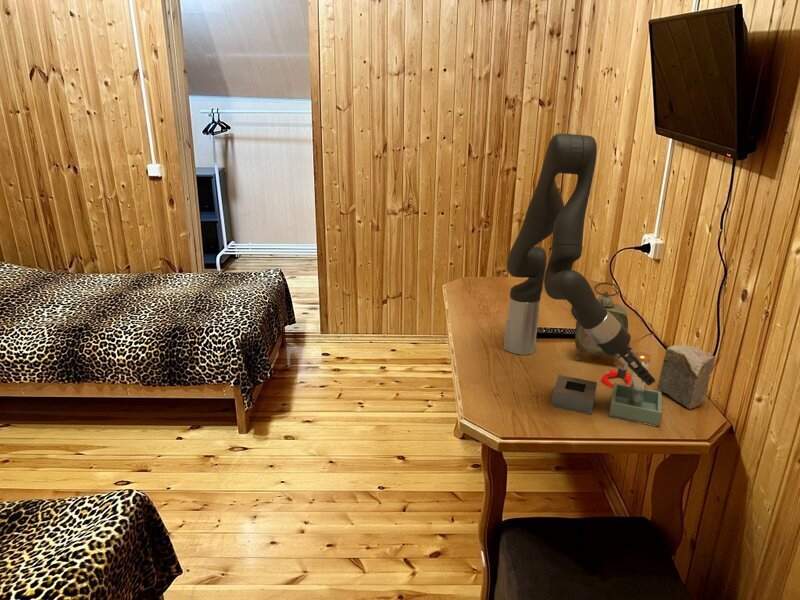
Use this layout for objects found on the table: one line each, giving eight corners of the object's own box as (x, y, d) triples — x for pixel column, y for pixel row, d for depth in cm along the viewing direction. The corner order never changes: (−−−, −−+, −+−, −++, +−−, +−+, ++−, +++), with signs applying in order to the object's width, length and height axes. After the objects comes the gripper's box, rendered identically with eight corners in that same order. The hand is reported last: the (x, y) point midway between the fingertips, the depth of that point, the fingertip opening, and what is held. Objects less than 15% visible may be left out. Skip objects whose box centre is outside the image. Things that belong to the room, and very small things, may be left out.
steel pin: (626, 410, 146) (634, 356, 142) (627, 404, 149) (635, 351, 145) (641, 413, 145) (650, 359, 140) (641, 406, 148) (650, 353, 143)
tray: (608, 416, 145) (611, 402, 143) (612, 395, 155) (614, 382, 153) (658, 427, 140) (661, 413, 139) (658, 405, 150) (661, 391, 149)
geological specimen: (655, 392, 157) (665, 342, 152) (671, 388, 160) (682, 338, 155) (688, 410, 148) (699, 358, 143) (704, 406, 150) (716, 354, 145)
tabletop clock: (571, 361, 174) (581, 283, 166) (572, 349, 182) (582, 274, 174) (621, 369, 170) (635, 289, 161) (620, 356, 178) (633, 280, 170)
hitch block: (551, 406, 149) (552, 390, 147) (557, 389, 157) (558, 374, 156) (591, 415, 145) (593, 399, 143) (594, 397, 154) (597, 382, 152)
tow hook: (627, 394, 157) (637, 380, 163) (634, 352, 152) (644, 339, 159) (597, 385, 161) (607, 372, 168) (602, 344, 156) (613, 332, 163)
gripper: (628, 333, 133) (672, 382, 136) (610, 311, 146) (650, 356, 150) (602, 353, 135) (645, 401, 138) (586, 330, 148) (627, 374, 152)
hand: (648, 378), depth 144 cm, fingers open, 4 cm apart
